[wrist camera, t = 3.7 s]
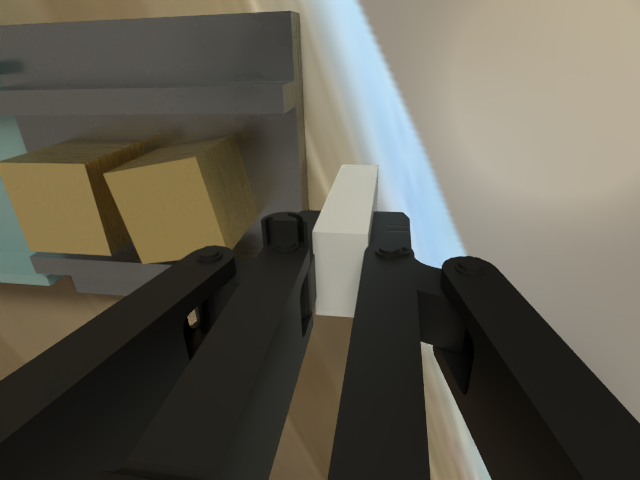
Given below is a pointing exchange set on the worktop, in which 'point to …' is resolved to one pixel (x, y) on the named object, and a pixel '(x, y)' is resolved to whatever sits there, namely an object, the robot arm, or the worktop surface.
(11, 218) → the tray
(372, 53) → the worktop surface
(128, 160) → the wooden block
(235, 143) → the wooden cube
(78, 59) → the slot board
